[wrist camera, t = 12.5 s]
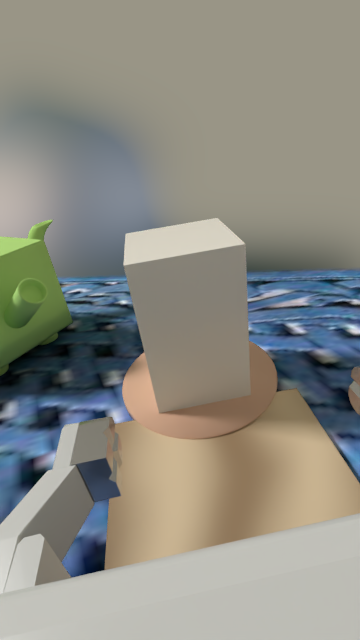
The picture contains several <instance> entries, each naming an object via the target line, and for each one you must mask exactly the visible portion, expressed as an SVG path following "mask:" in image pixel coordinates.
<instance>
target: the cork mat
mask: <svg viewBox="0 0 360 640" xmlns="http://www.w3.org/2000/svg"><path fill="white" fill-rule="evenodd" d="M115 432H116V433H117V434H119V437H120V441H121V445H122V455H123V459H122V465H121V466H120V468H119V469H120V472H121V474H122V493H121V496H119V497H115V498H111V499H109V510H108V525H107V541H106V556H105V570H108V569H113V568H117V567H122V566H126V565H131V564H135V563H140V562H144V561H148V560H153V559H157V558H162V557H166V556H171V555H175V554H180V553H184V552H189V551H193V550H198V549H202V548H207V547H211V546H215V545H220V544H224V543H229V542H233V541H238V540H242V539H247V538H251V537H256V536H260V535H264V534H269V533H273V532H278V531H282V530H287V529H291V528H296V527H300V526H304V525H309V524H313V523H318V522H322V521H327V520H331V519H336V518H340V517H344V516H349V515H353V514H358V513H360V483H359V482H358V480H357V479H356V477H355V476H354V474H353V473H352V471H351V470H350V468H349V467H348V465H347V464H346V462H345V461H344V459H343V458H342V456H341V455H340V453H339V452H338V450H337V449H336V447H335V446H334V444H333V443H332V441H331V440H330V438H329V436H328V435H327V433H326V432H325V430H324V429H323V427H322V426H321V424H320V423H319V421H318V420H317V418H316V417H315V415H314V414H313V412H312V411H311V409H310V408H309V406H308V405H307V403H306V402H305V400H304V399H303V397H302V396H301V394H300V393H299V391H298V390H297V388H294V389H289V390H284V391H279V392H275V395H274V398H273V400H272V401H271V403H270V405H269V406H268V407H267V409H266V410H265V411H264V412H263V413H262V414H261V415H260V416H259V417H258V418H256V419H255V420H254V421H252V422H251V423H249V424H248V425H246V426H244V427H242V428H240V429H238V430H236V431H233V432H231V433H228V434H225V435H221V436H217V437H212V438H205V439H179V438H173V437H168V436H164V435H161V434H158V433H156V432H153V431H151V430H149V429H147V428H146V427H144V426H143V425H141V424H140V423H139V422H137V421H136V420H133V421H128V422H123V423H118V424H115Z"/></svg>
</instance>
